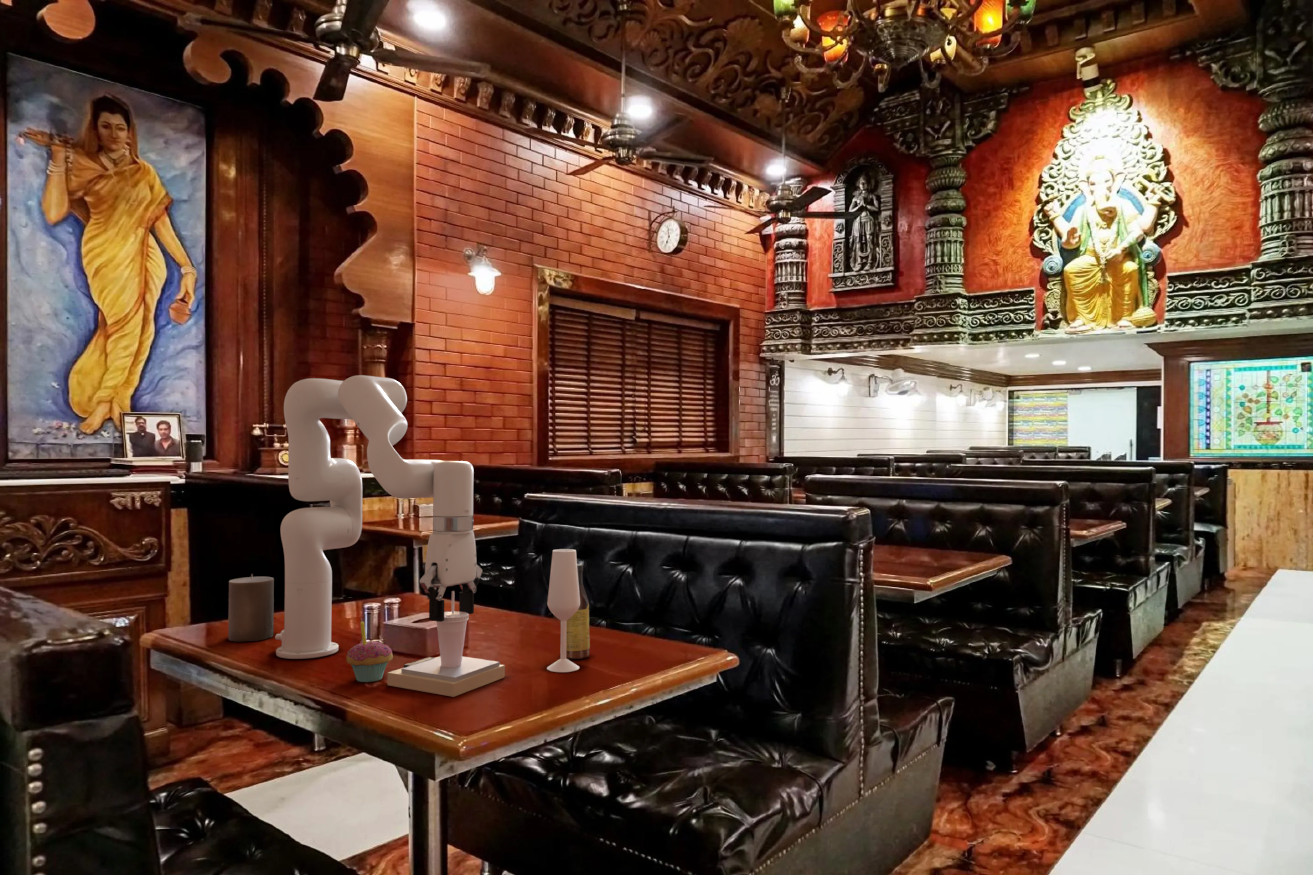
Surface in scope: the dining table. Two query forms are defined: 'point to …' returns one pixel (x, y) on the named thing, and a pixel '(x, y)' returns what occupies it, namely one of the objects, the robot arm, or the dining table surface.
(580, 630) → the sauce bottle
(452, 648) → the smoothie
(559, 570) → the champagne flute
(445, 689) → the scale
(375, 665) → the cupcake
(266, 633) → the pillar candle
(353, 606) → the dining table surface
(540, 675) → the dining table surface
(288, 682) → the dining table surface
